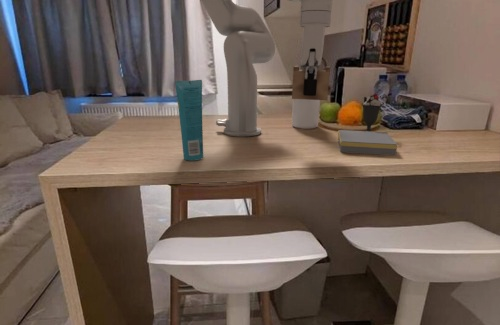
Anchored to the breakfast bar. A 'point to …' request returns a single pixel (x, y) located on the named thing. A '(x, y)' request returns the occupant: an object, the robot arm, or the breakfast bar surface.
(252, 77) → the robot arm
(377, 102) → the sundae
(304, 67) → the light grey cube
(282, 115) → the breakfast bar surface
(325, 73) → the brown open box
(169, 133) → the breakfast bar surface
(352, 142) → the dock
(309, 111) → the wine bottle
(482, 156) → the breakfast bar surface
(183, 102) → the tube
